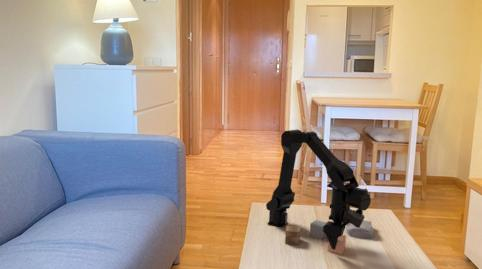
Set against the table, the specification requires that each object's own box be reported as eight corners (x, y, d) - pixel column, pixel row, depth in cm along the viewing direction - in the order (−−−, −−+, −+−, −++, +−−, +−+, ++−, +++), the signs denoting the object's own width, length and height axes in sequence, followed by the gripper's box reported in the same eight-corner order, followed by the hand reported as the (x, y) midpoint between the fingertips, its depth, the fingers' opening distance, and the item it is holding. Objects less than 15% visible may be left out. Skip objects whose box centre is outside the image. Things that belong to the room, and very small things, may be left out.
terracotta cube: (327, 251, 144) (328, 237, 143) (331, 245, 148) (332, 232, 147) (341, 254, 141) (342, 241, 140) (345, 248, 146) (346, 235, 145)
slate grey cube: (309, 235, 156) (310, 223, 155) (315, 231, 160) (316, 219, 159) (321, 239, 153) (322, 226, 152) (327, 235, 157) (328, 222, 156)
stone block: (347, 241, 156) (375, 239, 154) (346, 229, 156) (373, 227, 154) (346, 230, 168) (371, 228, 166) (344, 219, 167) (370, 217, 165)
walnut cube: (285, 243, 149) (285, 230, 148) (286, 238, 154) (286, 225, 153) (298, 245, 148) (299, 232, 147) (299, 239, 153) (300, 226, 152)
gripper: (358, 214, 130) (354, 260, 133) (368, 198, 146) (364, 239, 149) (323, 208, 135) (320, 252, 137) (337, 193, 151) (334, 232, 154)
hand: (336, 244), depth 144 cm, fingers open, 9 cm apart
